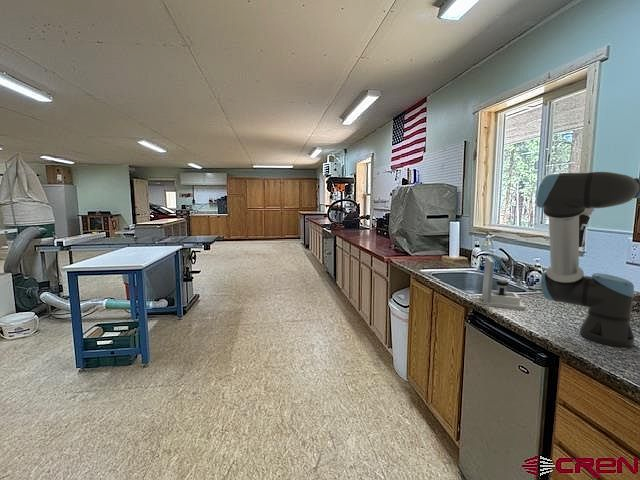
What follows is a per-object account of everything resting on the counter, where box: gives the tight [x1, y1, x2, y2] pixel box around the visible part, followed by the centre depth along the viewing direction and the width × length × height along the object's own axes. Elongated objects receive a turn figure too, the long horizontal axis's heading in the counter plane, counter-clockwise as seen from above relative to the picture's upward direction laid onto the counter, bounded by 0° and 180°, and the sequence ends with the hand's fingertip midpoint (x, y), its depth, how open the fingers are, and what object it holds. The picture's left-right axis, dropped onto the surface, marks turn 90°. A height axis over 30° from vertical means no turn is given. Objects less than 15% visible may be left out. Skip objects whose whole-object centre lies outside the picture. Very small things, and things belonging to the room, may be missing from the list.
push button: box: [496, 278, 509, 296], centre depth 163 cm, size 7×5×10 cm
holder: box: [481, 256, 526, 311], centre depth 163 cm, size 18×16×22 cm
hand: (561, 258), depth 150 cm, fingers open, 13 cm apart
